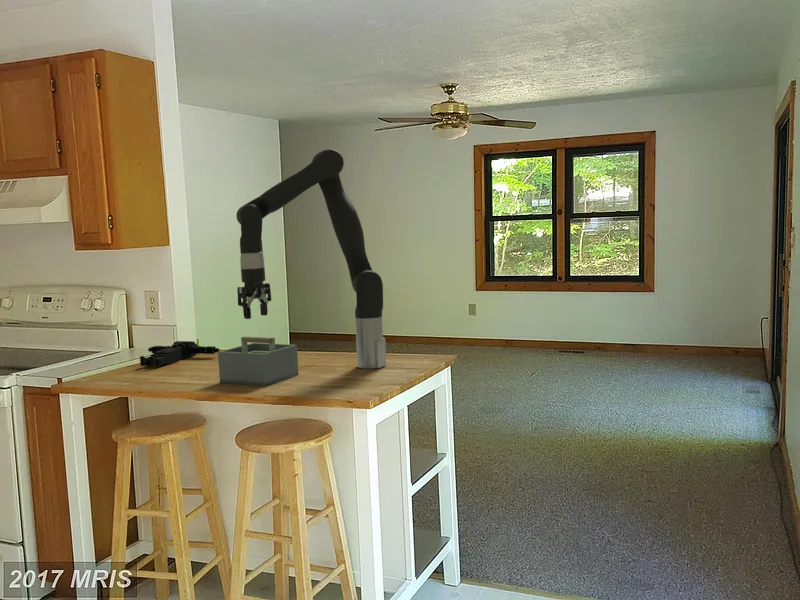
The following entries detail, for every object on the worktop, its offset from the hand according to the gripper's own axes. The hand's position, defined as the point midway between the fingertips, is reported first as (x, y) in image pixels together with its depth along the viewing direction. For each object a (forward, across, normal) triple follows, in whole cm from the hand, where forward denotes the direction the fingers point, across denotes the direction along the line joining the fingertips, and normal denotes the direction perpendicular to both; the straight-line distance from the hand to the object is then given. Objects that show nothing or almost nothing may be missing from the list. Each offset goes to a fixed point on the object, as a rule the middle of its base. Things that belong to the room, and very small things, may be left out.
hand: (256, 317), depth 232 cm
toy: (+20, +16, +54) cm, 60 cm away
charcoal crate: (+20, 0, 0) cm, 20 cm away
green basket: (+19, 0, 0) cm, 19 cm away
